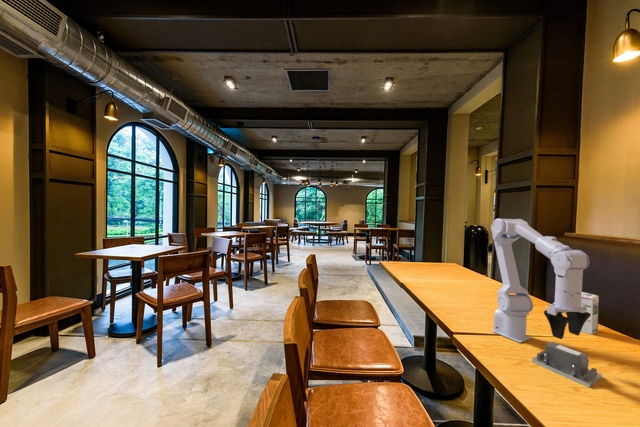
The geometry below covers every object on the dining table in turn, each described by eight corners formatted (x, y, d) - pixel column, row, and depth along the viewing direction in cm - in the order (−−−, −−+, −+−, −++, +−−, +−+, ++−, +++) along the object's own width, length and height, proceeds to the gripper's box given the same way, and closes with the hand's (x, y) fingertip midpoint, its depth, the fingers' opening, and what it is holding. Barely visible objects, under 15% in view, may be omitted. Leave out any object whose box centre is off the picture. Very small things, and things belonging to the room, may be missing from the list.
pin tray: (531, 361, 81) (532, 349, 81) (545, 354, 85) (546, 342, 85) (589, 387, 70) (590, 373, 70) (602, 378, 74) (602, 364, 74)
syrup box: (592, 335, 100) (593, 297, 99) (571, 328, 105) (573, 292, 105) (598, 332, 102) (599, 295, 102) (577, 325, 108) (579, 291, 107)
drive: (545, 360, 80) (545, 344, 80) (551, 357, 82) (552, 341, 82) (580, 376, 73) (581, 358, 73) (586, 371, 75) (587, 354, 75)
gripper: (568, 297, 72) (566, 346, 72) (600, 292, 76) (598, 338, 76) (540, 289, 78) (538, 334, 79) (571, 285, 83) (569, 328, 83)
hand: (565, 335), depth 78 cm, fingers open, 7 cm apart
